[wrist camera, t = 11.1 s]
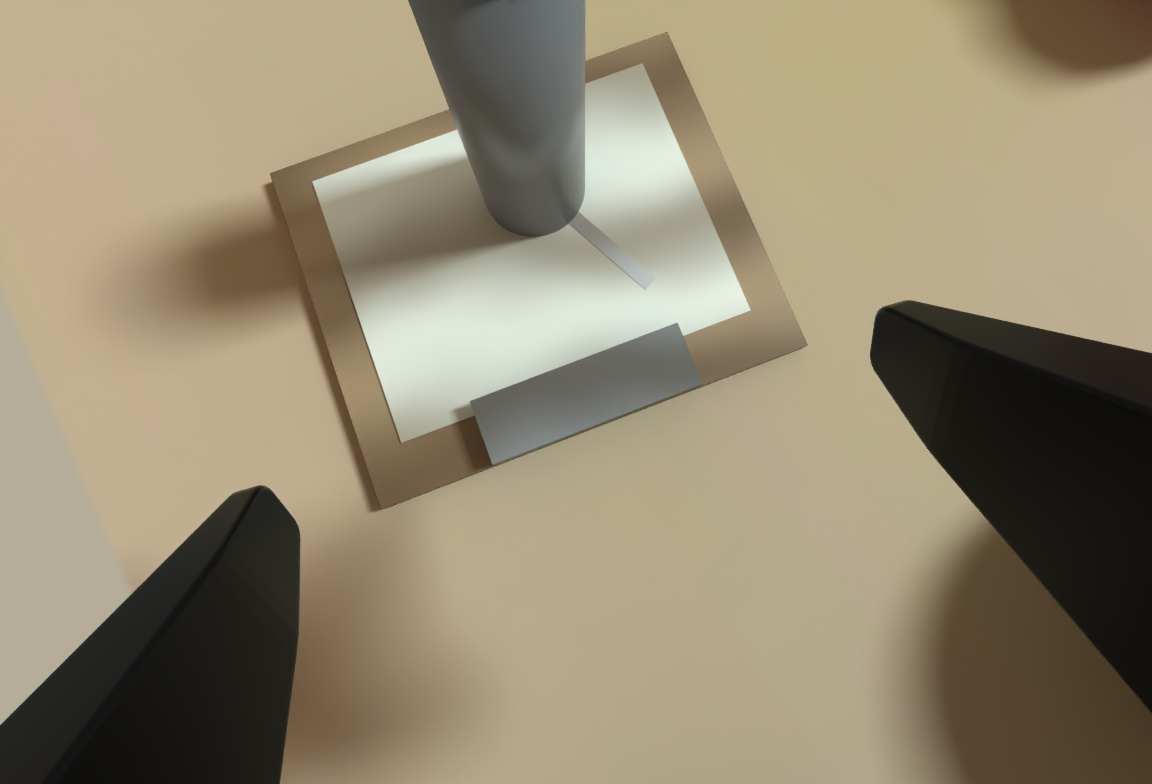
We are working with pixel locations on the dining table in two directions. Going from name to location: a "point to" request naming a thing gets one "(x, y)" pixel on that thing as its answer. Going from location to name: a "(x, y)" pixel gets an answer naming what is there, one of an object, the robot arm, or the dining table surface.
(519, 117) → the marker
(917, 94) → the dining table surface
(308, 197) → the clipboard
